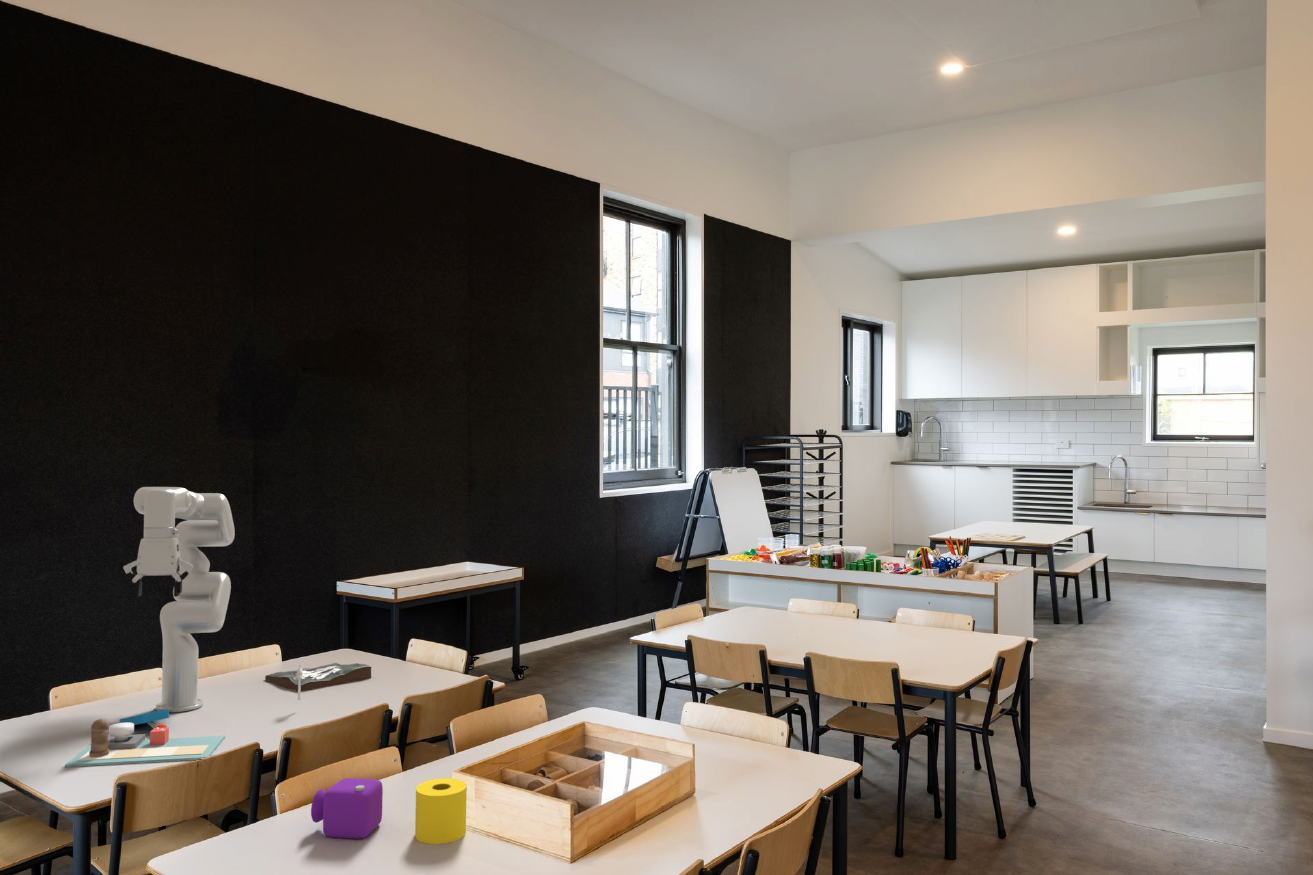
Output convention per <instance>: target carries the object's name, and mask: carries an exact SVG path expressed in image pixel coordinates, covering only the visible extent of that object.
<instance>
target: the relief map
mask: <svg viewBox="0 0 1313 875" xmlns="http://www.w3.org/2000/svg"><path fill="white" fill-rule="evenodd" d="M264 679H265V681H267V682H269V683H273V684H275V685H277V686H281V687H283V688H286V689H289V690H292V691H295V692H297V699H296V700H297V701H301V700H302V699H301V697H302V694H301V693H302V692H306V691H311V690H316V689H320V688H326V687H332V686H338V685H343V684H348V683H352V682H358V681H362V680H367V679H372V665H368V664H365V663H350V664H349V663H348V664H345V663H344V664H341V663H338V662H333V663H330V664H325V665H320V666H316V667H313V668H307V667H305V668H302V667H301V664H299V665H298V668H297V669H295V670H289V671H278V672H274V673H271V674H270V673H269V674H266V675H265V678H264Z"/></svg>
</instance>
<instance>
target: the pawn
mask: <svg viewBox="0 0 1313 875" xmlns="http://www.w3.org/2000/svg"><path fill="white" fill-rule="evenodd" d="M109 726H110V725H109V722H108V721H107V720H106V719H102V718H100V719H99V718H98V719H96V720H95V721H93V723H91V726H90V732H91V733H90V744H91V751H90V752H89V756H90V757H102V756H106V755H108V754H109V749H108V736H109Z"/></svg>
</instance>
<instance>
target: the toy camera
mask: <svg viewBox="0 0 1313 875" xmlns="http://www.w3.org/2000/svg"><path fill="white" fill-rule="evenodd" d="M383 793H384V790H383V783H382V780H379V779H374V778H373V779H372V778H370V779H369V778H352V777H349V778H348V777H346V778H343V779H341V780H339V781H337V782H336V783H334V785H332V786H331V787H330V788H328V789H327V791H326V790H325V789H323V788H320V789H318V790H317V791H316V793H315V795H314V797H313V800H312V802H311V808H310V816H311V820H312V821H313V822H314V823H317V824H318V823H319V822H321V821H322V829H323V830H322V831H323V834H324V836H326V837H329V838H339V839H340V838H342V839H361V840H362V839H365V838H366V837H367V836H369V835H370V834H371V833H372V832H373V831H374V830H375V829H376V828H377V827H378V826H379V825H380V824H381V822H382V819H383Z"/></svg>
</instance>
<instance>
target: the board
mask: <svg viewBox="0 0 1313 875" xmlns="http://www.w3.org/2000/svg"><path fill="white" fill-rule="evenodd" d="M169 731H170V727H168V726H167V727H166V728H158V727H157V728H153V729H152V730H150V732H149V739H147V738H146V734H145V733H143V734H141V733H139V734H130V735H128V739H127V740H123V741H115V737H112V736H109V735H108V749H109V754H108V755H106V756H102V757H90V756H89V752H90V751H91V743H89V745H87V746H86V747H85V748H84V749H82V750H81V751H80V752H78V753H77V754H76V755H75V756H74V757H73V758H71V759H70V760H69V761H67V762H66V763H65V764H64V768H75V767H76V768H77V767H90V766H92V767H93V766H105V765H106V766H111V765H112V766H113V765H129V764H147V763H148V764H150V763H165V762H166V763H167V762H168V763H169V762H184V761H186V762H187V761H199V760H198V759H201V758H206V757H208V756H210V757H211V756H212V755H213V753H215V751H216V750H217V749H218V747H219V746H220V745H221V743H222V742H223V741H224V740H225V739H226V736H225V735H212V736H211V735H209V736H206V735H205V736H192V737H191V736H189V737H187V736H186V737H171V738H170V736H169V735H170V732H169Z"/></svg>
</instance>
